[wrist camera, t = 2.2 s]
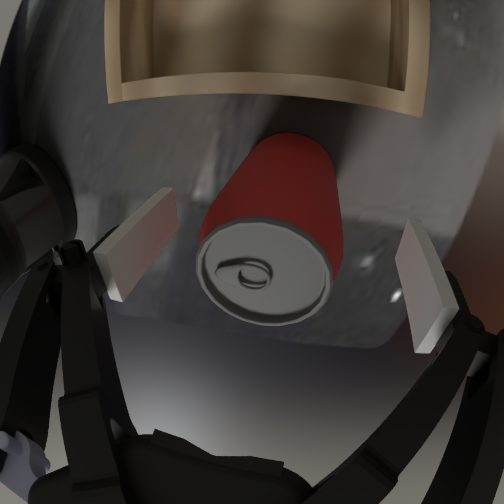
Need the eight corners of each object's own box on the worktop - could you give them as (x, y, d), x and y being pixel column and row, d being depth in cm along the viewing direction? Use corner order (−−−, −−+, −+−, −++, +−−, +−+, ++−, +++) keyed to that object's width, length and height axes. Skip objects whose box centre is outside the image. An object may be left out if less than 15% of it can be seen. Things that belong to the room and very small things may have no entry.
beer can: (245, 128, 19) (170, 199, 10) (338, 135, 18) (362, 216, 9) (247, 208, 23) (195, 322, 14) (329, 216, 22) (330, 341, 13)
